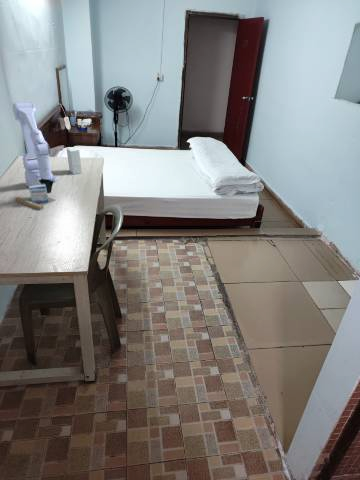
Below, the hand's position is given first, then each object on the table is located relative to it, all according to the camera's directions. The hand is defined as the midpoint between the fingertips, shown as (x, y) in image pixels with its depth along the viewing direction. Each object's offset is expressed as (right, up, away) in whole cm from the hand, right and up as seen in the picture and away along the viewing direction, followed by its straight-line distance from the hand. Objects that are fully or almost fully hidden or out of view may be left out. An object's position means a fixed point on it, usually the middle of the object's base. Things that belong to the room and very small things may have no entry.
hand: (48, 192), depth 175 cm
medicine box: (-2, -5, -4) cm, 7 cm away
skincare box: (+3, +18, +37) cm, 41 cm away
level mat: (-4, -5, -4) cm, 8 cm away
